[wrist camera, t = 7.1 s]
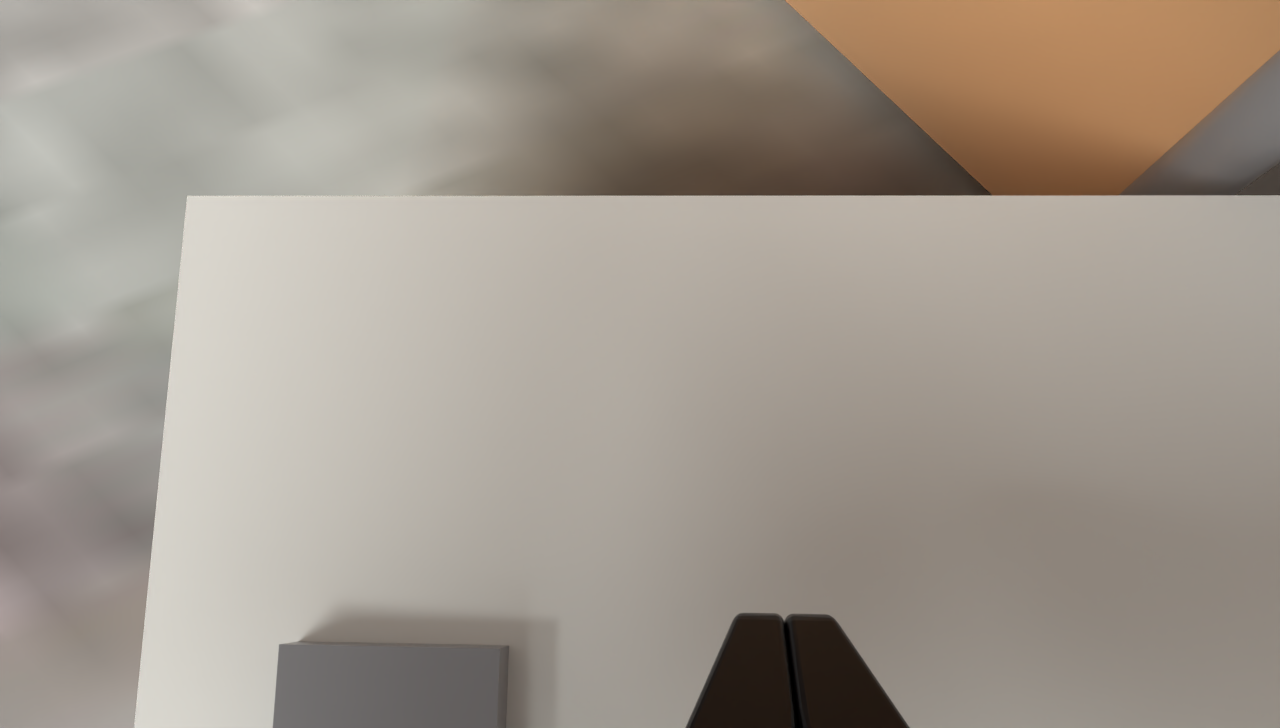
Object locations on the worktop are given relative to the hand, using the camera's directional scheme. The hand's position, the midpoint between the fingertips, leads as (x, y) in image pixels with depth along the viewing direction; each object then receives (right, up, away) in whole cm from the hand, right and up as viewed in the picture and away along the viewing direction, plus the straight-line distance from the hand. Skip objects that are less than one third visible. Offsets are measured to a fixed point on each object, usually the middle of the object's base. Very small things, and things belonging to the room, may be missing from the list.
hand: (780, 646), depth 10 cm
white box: (0, -1, +10) cm, 10 cm away
